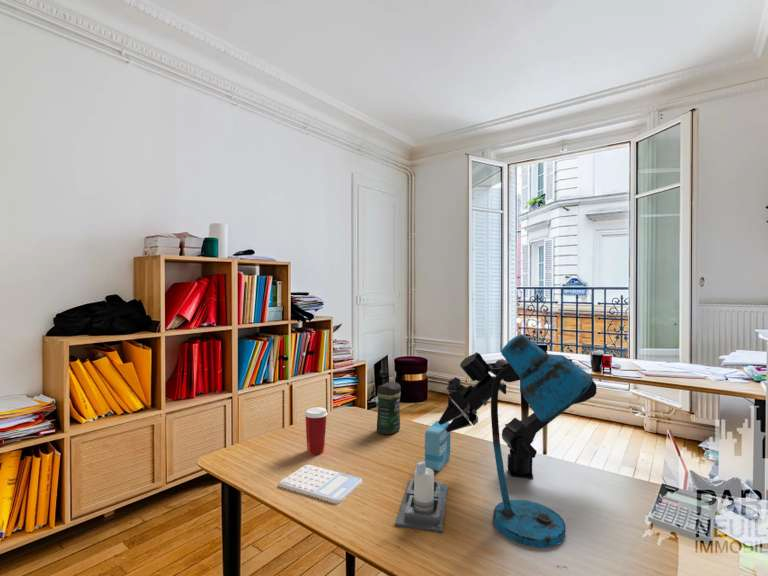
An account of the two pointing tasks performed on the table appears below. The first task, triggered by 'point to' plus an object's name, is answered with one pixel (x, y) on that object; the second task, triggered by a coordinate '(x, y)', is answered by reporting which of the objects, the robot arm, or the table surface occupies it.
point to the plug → (423, 489)
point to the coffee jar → (388, 408)
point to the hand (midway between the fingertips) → (443, 427)
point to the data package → (437, 446)
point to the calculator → (321, 483)
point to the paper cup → (315, 430)
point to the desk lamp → (547, 399)
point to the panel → (421, 519)
